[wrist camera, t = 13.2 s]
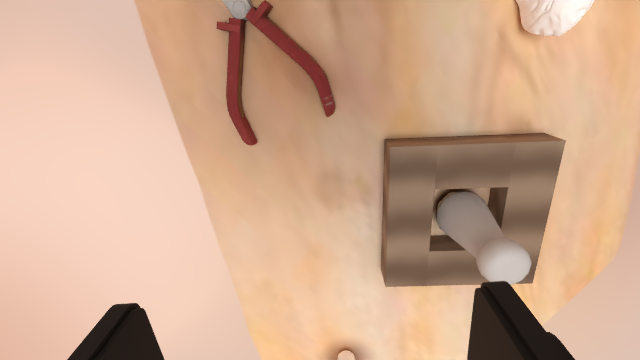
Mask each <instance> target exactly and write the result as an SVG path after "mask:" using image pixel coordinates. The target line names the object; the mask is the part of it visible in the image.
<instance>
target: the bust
mask: <svg viewBox="0 0 640 360" xmlns="http://www.w3.org/2000/svg"><path fill="white" fill-rule="evenodd" d="M594 1H595V0H516V2H517V4H518V6H519V9H520V16H521V24H522V26H523V28H524V29H525V30H526V31H528V32H529V33H532V34H536V35H541V36H551V35H553V36H561V35H563V34H564V33H566V32H567V31H568V30H570V29H571V28H572V27H573V26H574V25H576V24H577V23H578V22H579V20H580V19H581V18H582V17H583V15H584V14H585V13H586V12H587V11H588V10H589V9H590V7H591V6H592V4H593V2H594Z"/></svg>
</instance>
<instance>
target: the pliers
mask: <svg viewBox="0 0 640 360" xmlns="http://www.w3.org/2000/svg"><path fill="white" fill-rule="evenodd" d="M223 2H224V3H225V5H226V6H227V8H228V9H229V11H230V13H231V14H232V16H233V17H234V18H229V23H223V22H217V29H220V30H225V31H229V45H228V67H227V89H226V96H227V106H228V111H229V115H230V117H231V119H232V121H233V123H234V125H235V127H236V129H237V131H238V132H239V134H240V136H241V138H242V140H243V141H244V142H245V143H246V144H248V145H255V144H256V143H257V139H256V137H255V135H254V133H253V131H252V129H251V127H250V125H249V123H248V121H247V119H246V117H245V114H244V111H243V107H242V102H241V86H242V70H243V55H244V39H245V22H246V20H249V21H250V22H251V23H252V24H253V25H255V26H256V27H257V28H258V29H259V30H260V31H261V32H263V33H264V34H265V35H266V36H267V37H268V38H269V39H271V40H272V41H273V42H274V43H275V44H276V45H277V46H279V47H280V48H281V49H282V50H283V51H284V52H285V53H286V54H288V55H289V56H290V57H291V58H292V59H293V60H294V61H296V62H297V63H298V64H299V65H300V66H301V67H302V68H303V69H304V70H305V71H306V72H307V73H308V74H309V75H310V77H311V78H312V79H313V81H314V83H315V85H316V87H317V89H318V92H319V95H320V98H321V101H322V104H323V107H324V110H325V113H326V116H327V117H329V116H331V115H332V114H333V113H334V111H335V102H334V99H333V96H332V92H331V89H330V86H329V82H328V79H327V76H326V75H325V73H324V71H323V70H322V68H321V67H320V66H319V65H318V63H317V62H316V61H315V60H314V59H313V58H312V57H311V56H310V55H309V54H308V53H307V52H306V51H304V50H303V49H302V48H301V47H300V46H299V45H298V44H297V43H295V42H294V41H293V40H292V39H291V38H290V37H289V36H288V35H287V34H285V33H284V32H283V31H282V30H281V29H280V28H279V27H278V26H277V25H275V24H274V23H273V22H272V21H271V20H270V19H269V18H268V17H267V15H268V13H269V12H270V10H271V9H272V8H273V7H272V6H271V5H270V4H269V3H268V2H267V1H266V0H264V1H263V2H262V3H261V5H260V6H259V7H258V9H256V8H255V7H252V3H251V0H223Z"/></svg>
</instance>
